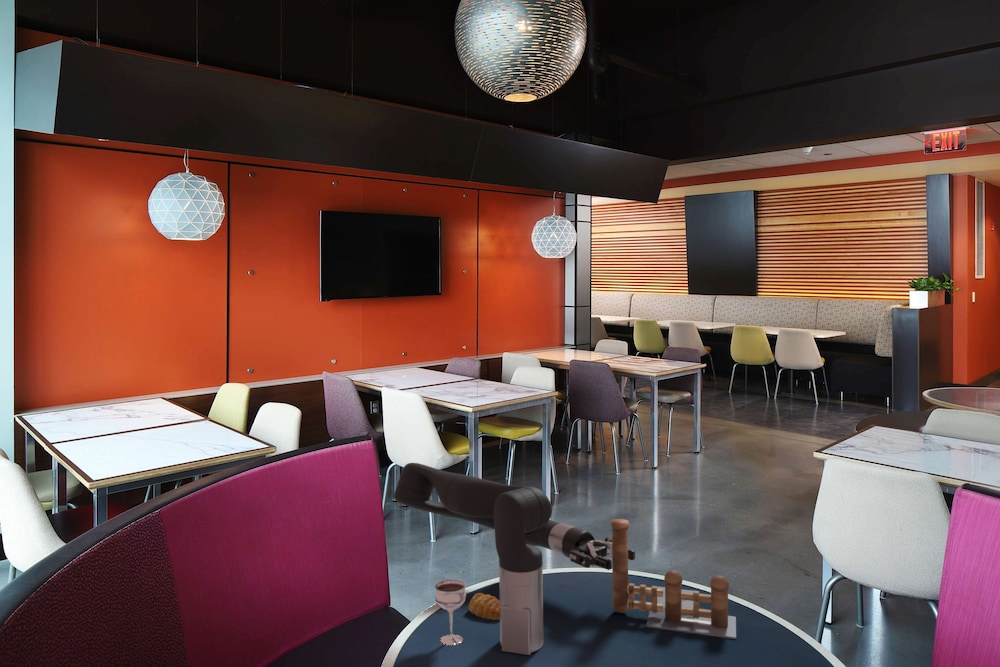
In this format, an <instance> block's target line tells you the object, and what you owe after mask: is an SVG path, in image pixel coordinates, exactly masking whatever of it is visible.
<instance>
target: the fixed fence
mask: <svg viewBox="0 0 1000 667" xmlns="http://www.w3.org/2000/svg"><path fill="white" fill-rule="evenodd" d="M663 580H664V587H665V619H666V620H668V621H670V622H680V621H681V617H682V615H687V616H693V618H697V619H699V617H703V618H711V625H712V626H714V627H716V628H727V627H728V616H729V588H730V584H729V580H728V579H727V577H725V576H723V575H719V574H718V575H717V574H716V575H714V576H712V578H710V582H709V585H710V589H711V590H710V594H709V593H708V594H706V593H700V591H698V590H692V591H693V593H692V592H683V591H682V586H683V585H682V584H683V577H682V574H681V573H680V572H679V571H678V570H674V569H671V570H668V571H667V572H666V573H665V574H664V579H663ZM682 600H689V601H693V608H691V607H683V606H682ZM700 603H705V604H707V603H708V604H710V609H707V608H706V609H705V608H700Z"/></svg>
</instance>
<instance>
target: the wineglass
mask: <svg viewBox="0 0 1000 667" xmlns="http://www.w3.org/2000/svg"><path fill="white" fill-rule="evenodd" d="M466 586H467V584H466V582H464V581H463V580H461V579H460V580H459V579H455V578H454V579H443V580H441V581H438V582H437V583H435V585H434V587H435V589H436V590H435V594H434V598H435V601H436V604H437V605H438V606H439V607H440V608H441V609H443V610H445V611H447V612H448V614H449V615H448V616H449V632H450V635H449V634H445V635H446V636H445V635H443V636H442V637H440V639H441V640H439V642H440V641H441V642H442V643H443V644H442V643H441V642H440V643H441V644H442V645H444V646H448V645H449V647H451V646H452V645H453V646H457V645H460V644H461V643H462V642H463V640H464V638H463V637H462V636H461V635H459V634H456V635H455V633H453V620H454V615H453V614H454V612H455V611H456V610H458V609H459V608H461V607H462V606H463V605H464V604H465V601H466V599H467V591H466V589H465V588H466ZM459 643H460V644H459ZM445 644H446V645H445ZM450 645H451V646H450Z"/></svg>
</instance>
